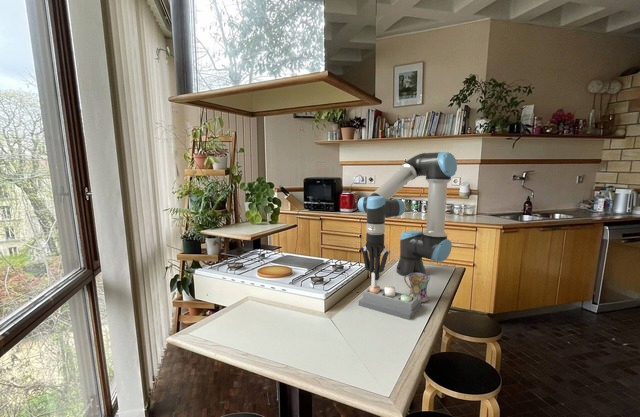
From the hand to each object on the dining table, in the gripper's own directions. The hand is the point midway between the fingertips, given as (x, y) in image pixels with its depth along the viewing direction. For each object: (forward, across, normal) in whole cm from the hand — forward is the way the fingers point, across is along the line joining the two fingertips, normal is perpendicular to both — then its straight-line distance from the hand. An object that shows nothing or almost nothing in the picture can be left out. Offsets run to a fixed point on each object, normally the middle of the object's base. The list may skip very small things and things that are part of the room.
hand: (374, 286), depth 132 cm
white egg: (+3, +7, 0) cm, 8 cm away
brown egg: (+4, 0, 0) cm, 4 cm away
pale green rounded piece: (+5, +14, 0) cm, 15 cm away
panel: (+7, +7, 0) cm, 10 cm away
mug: (+7, +14, +14) cm, 20 cm away
